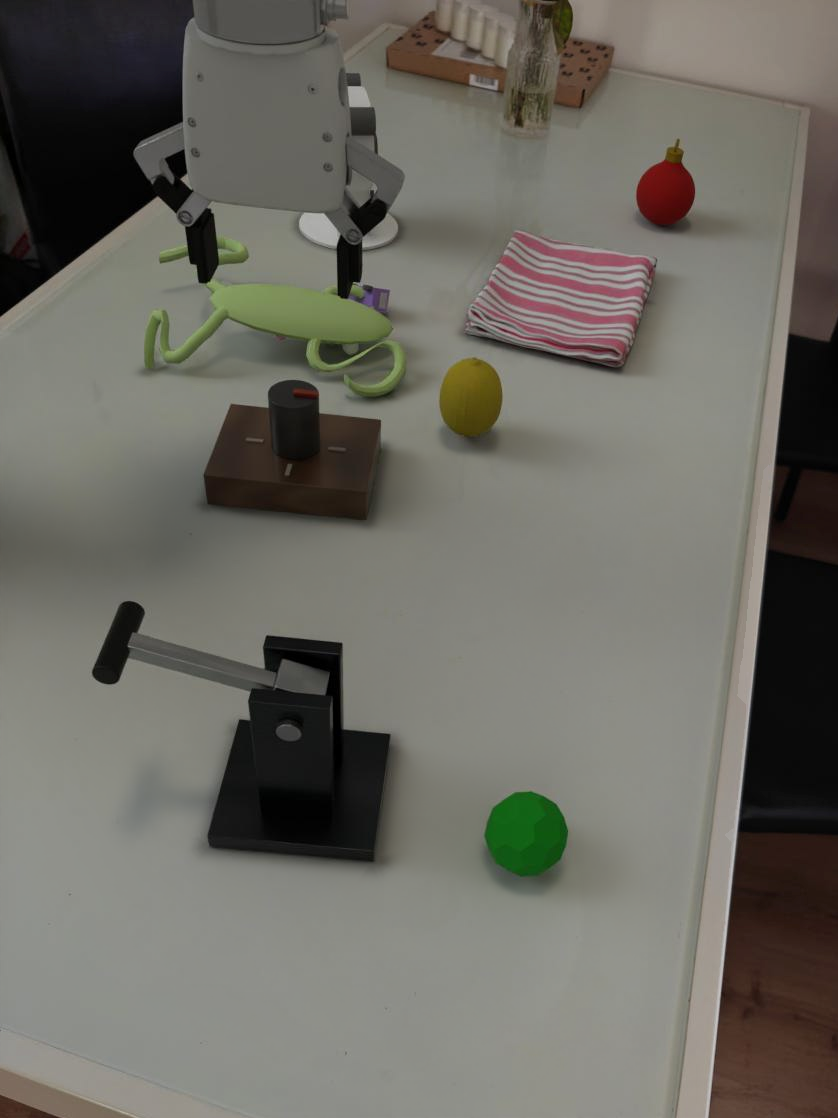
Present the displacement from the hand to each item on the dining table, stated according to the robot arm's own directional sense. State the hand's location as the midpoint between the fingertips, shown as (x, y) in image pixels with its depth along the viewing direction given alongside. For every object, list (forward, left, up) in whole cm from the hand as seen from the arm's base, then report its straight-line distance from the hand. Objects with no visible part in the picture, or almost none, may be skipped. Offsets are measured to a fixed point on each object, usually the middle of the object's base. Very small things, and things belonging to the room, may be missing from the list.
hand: (277, 281), depth 72 cm
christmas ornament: (+35, +59, -19) cm, 72 cm away
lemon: (+14, +10, -19) cm, 26 cm away
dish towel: (+23, +36, -19) cm, 47 cm away
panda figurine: (-2, +48, -19) cm, 52 cm away
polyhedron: (+20, -33, -19) cm, 43 cm away
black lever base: (+6, -30, -19) cm, 36 cm away
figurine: (-6, +23, -19) cm, 31 cm away
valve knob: (0, +2, -16) cm, 16 cm away
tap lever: (+1, -30, -9) cm, 31 cm away
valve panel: (0, +2, -19) cm, 19 cm away
